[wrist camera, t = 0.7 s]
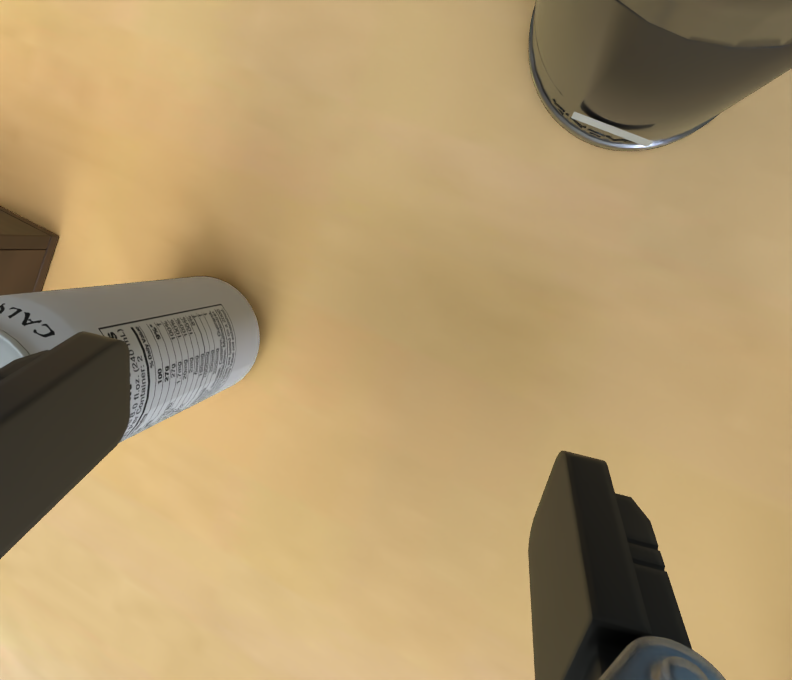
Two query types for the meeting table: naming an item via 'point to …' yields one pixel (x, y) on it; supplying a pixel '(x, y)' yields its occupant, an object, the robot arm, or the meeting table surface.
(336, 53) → the meeting table surface
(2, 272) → the walnut box
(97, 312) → the energy drink can
